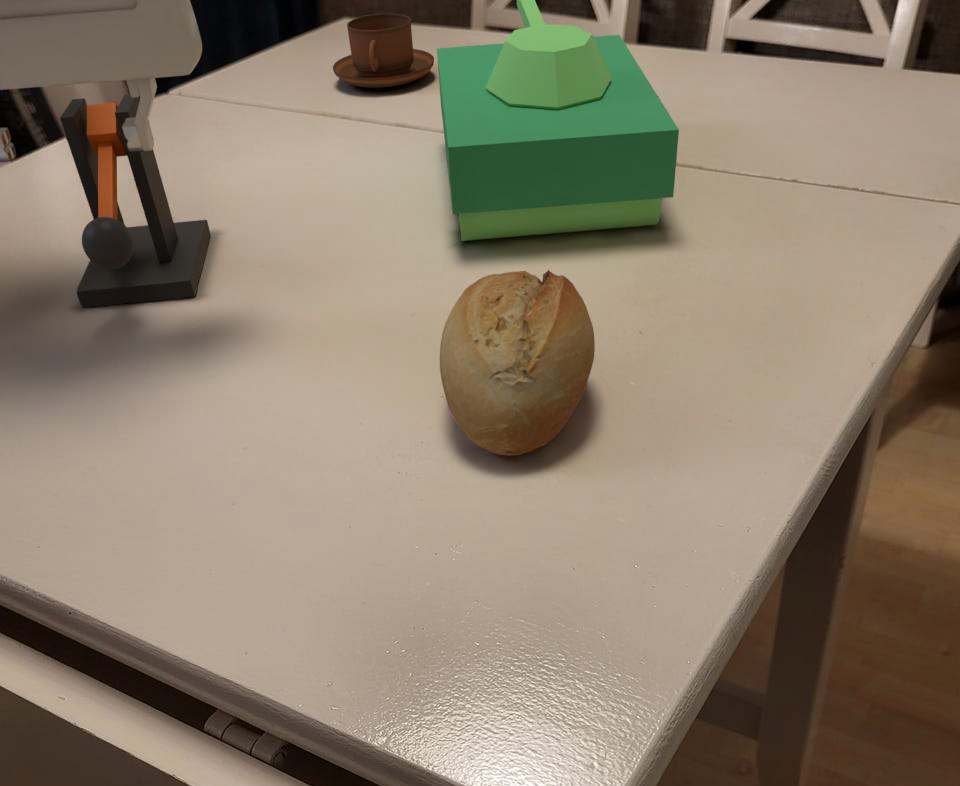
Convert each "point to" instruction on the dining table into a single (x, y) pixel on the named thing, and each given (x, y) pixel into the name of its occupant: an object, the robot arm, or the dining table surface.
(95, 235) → the pendulum
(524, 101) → the toy tank
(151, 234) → the stand with upright posts
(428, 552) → the dining table surface
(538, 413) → the bread roll
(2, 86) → the robot arm
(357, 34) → the cup and saucer
